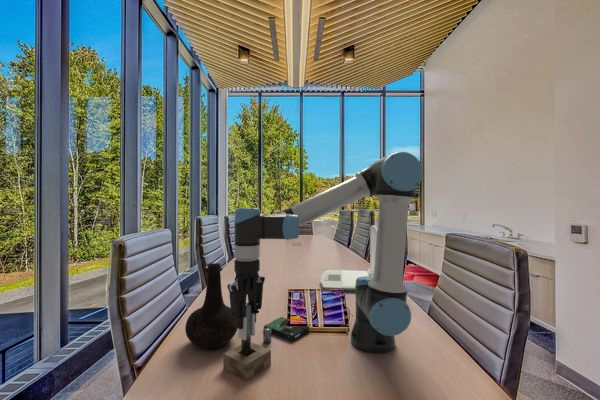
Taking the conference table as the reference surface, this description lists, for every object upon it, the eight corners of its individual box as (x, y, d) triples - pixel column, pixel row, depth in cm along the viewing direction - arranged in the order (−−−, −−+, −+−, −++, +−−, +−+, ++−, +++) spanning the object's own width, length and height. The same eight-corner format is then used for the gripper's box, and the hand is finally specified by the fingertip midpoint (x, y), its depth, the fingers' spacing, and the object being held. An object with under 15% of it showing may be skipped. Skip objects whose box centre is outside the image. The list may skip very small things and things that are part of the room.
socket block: (270, 364, 90) (270, 350, 90) (246, 380, 82) (246, 364, 82) (248, 354, 96) (248, 340, 96) (223, 368, 88) (223, 353, 88)
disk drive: (309, 333, 113) (281, 323, 122) (310, 326, 113) (281, 316, 122) (292, 344, 105) (262, 332, 114) (292, 336, 105) (263, 324, 114)
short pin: (272, 341, 105) (272, 329, 105) (267, 344, 103) (267, 331, 103) (267, 339, 107) (267, 326, 107) (261, 342, 105) (261, 329, 105)
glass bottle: (179, 340, 106) (179, 262, 106) (226, 327, 117) (226, 256, 117) (194, 362, 92) (194, 272, 92) (247, 345, 103) (246, 264, 103)
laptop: (322, 273, 204) (322, 223, 204) (371, 274, 199) (371, 223, 199) (318, 292, 163) (318, 229, 163) (380, 294, 158) (380, 229, 158)
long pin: (252, 350, 90) (253, 304, 90) (245, 353, 88) (246, 306, 88) (246, 347, 91) (246, 302, 91) (239, 350, 89) (239, 304, 89)
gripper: (257, 253, 98) (256, 324, 98) (217, 261, 85) (217, 342, 85) (274, 256, 93) (273, 330, 93) (235, 264, 81) (234, 350, 81)
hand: (246, 336), depth 89 cm, fingers closed on long pin, 3 cm apart
